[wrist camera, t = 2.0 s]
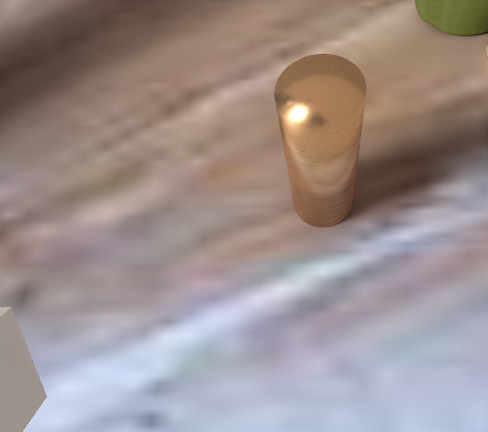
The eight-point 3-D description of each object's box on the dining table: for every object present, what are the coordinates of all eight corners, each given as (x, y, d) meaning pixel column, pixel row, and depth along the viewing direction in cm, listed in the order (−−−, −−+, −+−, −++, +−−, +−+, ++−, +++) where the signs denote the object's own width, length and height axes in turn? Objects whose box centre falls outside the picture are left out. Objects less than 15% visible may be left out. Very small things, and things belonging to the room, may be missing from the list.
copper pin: (281, 204, 31) (256, 99, 20) (318, 164, 32) (312, 40, 21) (327, 238, 30) (326, 144, 19) (364, 195, 30) (385, 80, 19)
